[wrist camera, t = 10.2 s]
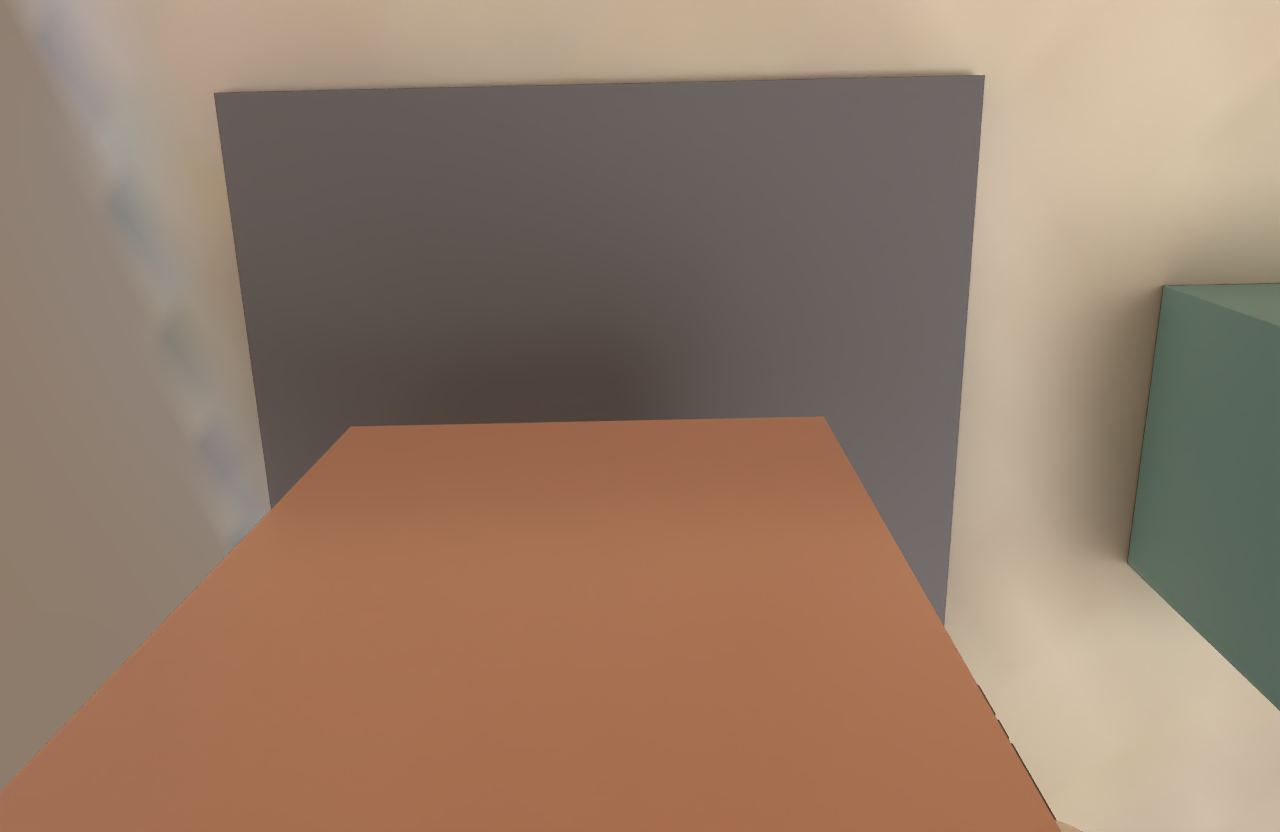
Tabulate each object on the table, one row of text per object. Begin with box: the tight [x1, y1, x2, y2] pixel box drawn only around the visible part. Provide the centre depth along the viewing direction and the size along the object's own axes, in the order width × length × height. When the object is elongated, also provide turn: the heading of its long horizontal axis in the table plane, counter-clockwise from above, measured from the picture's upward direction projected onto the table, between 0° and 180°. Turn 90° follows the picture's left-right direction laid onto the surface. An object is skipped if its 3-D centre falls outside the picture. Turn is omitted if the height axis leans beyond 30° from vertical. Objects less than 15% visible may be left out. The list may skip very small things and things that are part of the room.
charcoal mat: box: [214, 75, 985, 626], centre depth 21 cm, size 14×14×1 cm
